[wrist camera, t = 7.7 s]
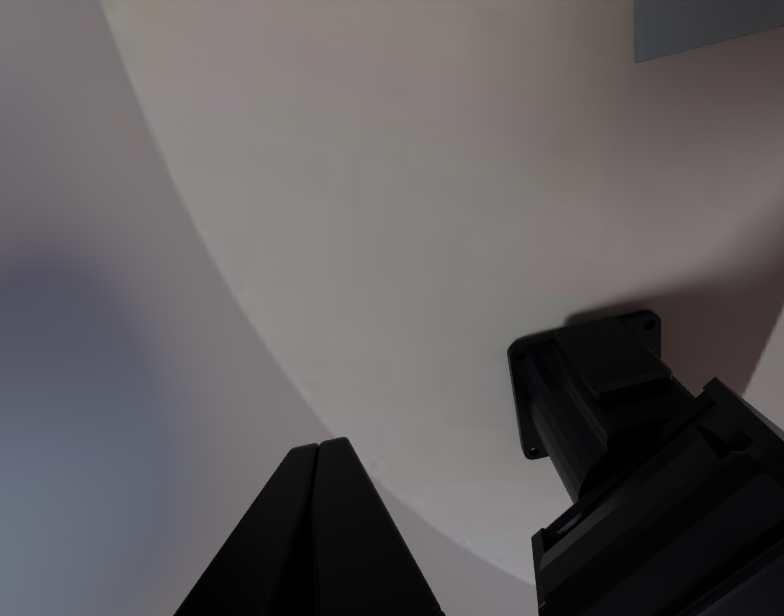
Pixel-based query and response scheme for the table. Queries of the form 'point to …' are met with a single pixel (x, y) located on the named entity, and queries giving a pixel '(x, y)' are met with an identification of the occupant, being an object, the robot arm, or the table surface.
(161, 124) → the table surface
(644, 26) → the mat
